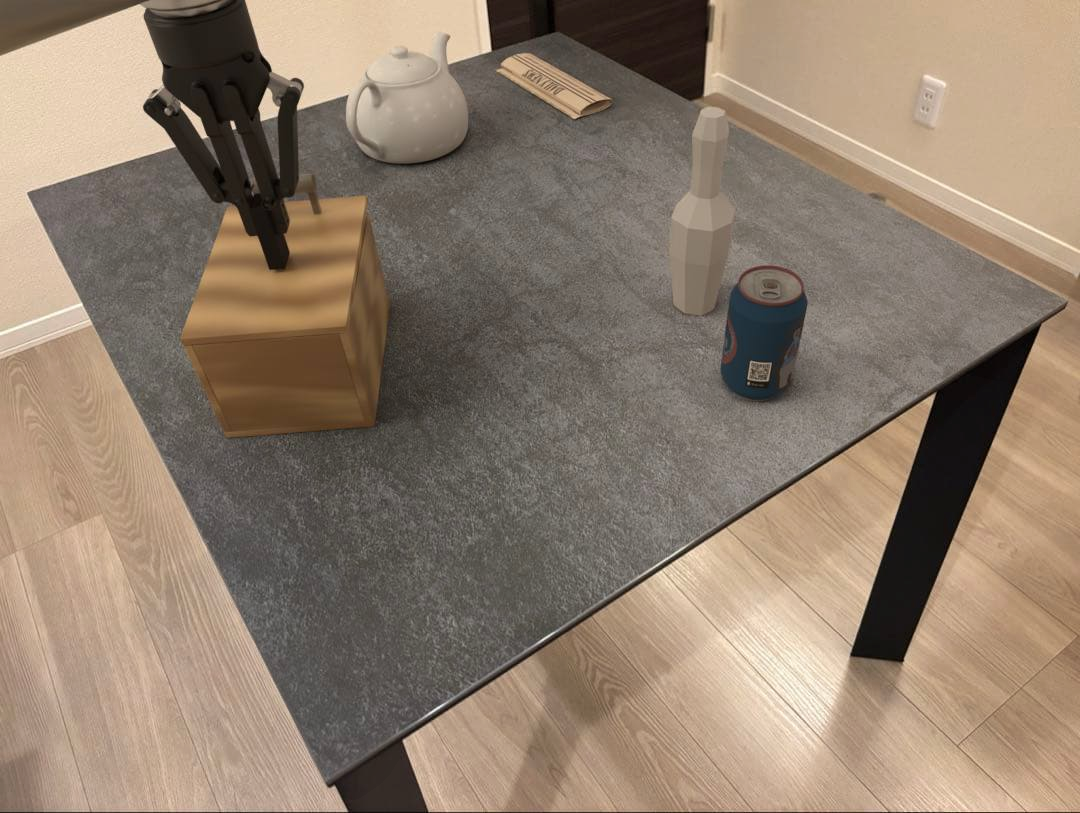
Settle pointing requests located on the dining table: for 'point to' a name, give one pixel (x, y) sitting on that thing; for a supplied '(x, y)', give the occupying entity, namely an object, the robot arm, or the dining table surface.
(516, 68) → the newspaper
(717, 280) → the faceted bottle
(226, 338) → the lid
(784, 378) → the soda can
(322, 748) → the dining table surface
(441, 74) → the teapot
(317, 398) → the chest
